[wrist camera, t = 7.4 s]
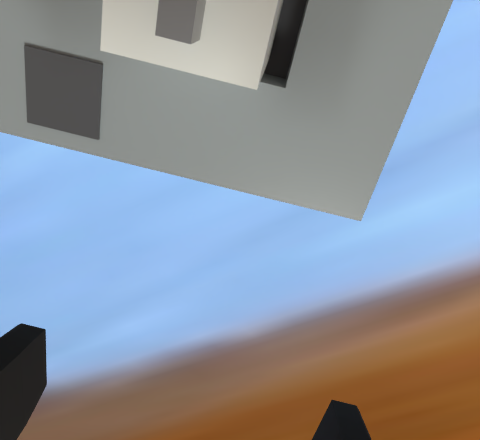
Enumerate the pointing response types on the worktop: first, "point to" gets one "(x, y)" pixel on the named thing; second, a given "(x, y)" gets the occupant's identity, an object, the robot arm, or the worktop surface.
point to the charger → (195, 35)
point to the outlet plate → (228, 98)
